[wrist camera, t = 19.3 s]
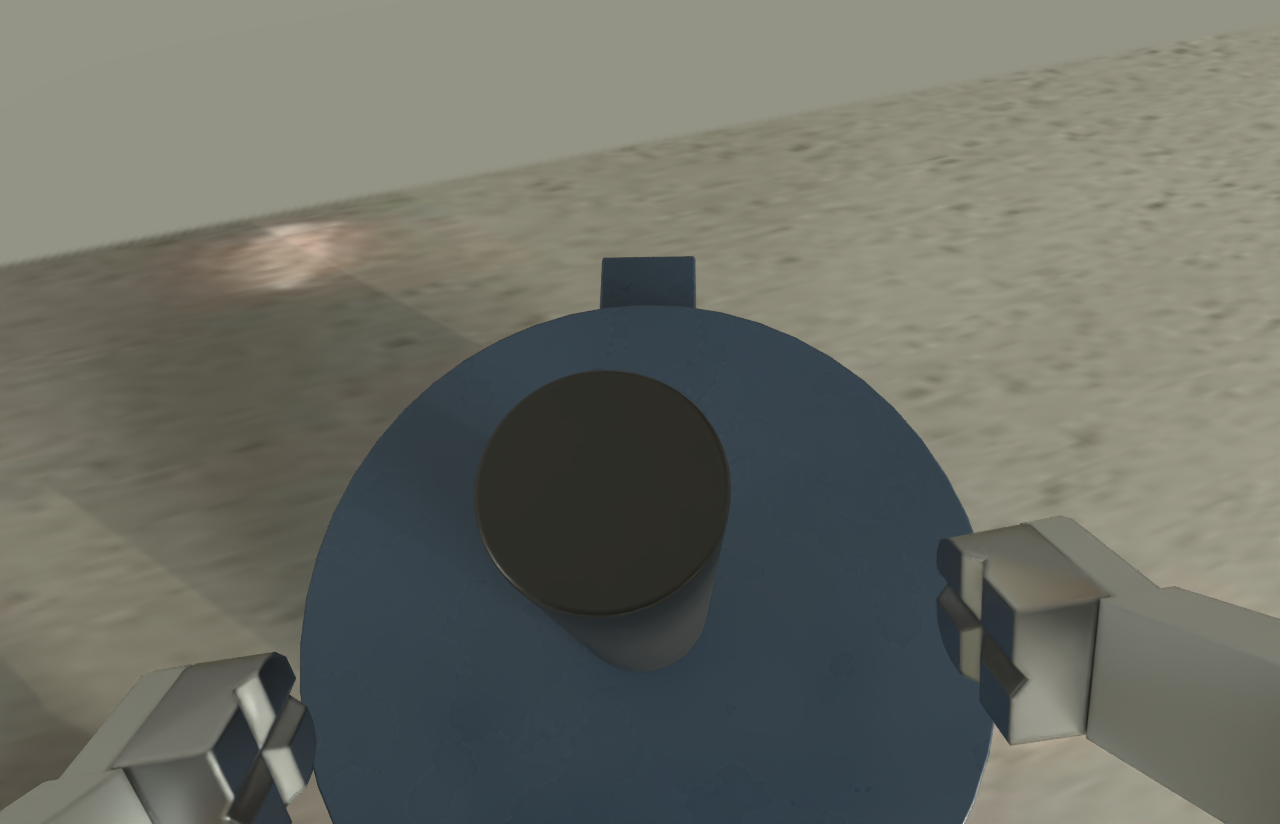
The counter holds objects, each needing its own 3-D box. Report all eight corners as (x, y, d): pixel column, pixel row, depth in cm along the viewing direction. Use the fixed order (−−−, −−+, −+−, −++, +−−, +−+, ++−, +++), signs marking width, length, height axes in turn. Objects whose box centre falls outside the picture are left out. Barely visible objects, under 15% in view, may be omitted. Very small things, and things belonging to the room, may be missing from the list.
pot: (428, 985, 20) (235, 1182, 12) (492, 398, 27) (402, 243, 19) (885, 1004, 20) (1048, 1229, 11) (829, 396, 27) (901, 234, 18)
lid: (259, 993, 13) (-402, 1410, 5) (379, 330, 18) (147, 28, 10) (1039, 1026, 12) (1692, 1576, 4) (928, 324, 17) (1131, -8, 10)
